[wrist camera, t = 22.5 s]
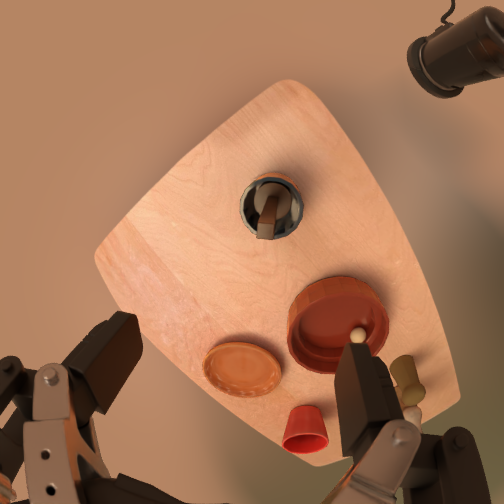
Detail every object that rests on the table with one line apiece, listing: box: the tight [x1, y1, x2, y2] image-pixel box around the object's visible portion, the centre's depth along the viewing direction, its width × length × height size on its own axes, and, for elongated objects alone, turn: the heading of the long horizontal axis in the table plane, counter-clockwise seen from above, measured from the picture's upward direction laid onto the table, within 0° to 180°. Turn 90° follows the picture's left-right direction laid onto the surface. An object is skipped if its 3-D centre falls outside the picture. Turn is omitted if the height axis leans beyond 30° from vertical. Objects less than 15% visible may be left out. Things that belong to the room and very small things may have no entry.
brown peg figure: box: [390, 355, 426, 406], centre depth 44 cm, size 6×6×11 cm
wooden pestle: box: [254, 181, 292, 240], centre depth 31 cm, size 5×5×19 cm
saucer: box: [202, 342, 282, 398], centre depth 51 cm, size 16×16×3 cm
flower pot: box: [282, 405, 329, 454], centre depth 53 cm, size 11×11×10 cm
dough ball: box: [350, 327, 366, 343], centre depth 45 cm, size 3×3×3 cm
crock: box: [240, 173, 304, 239], centre depth 37 cm, size 8×8×8 cm
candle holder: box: [395, 386, 423, 433], centre depth 43 cm, size 9×9×20 cm
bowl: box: [287, 276, 389, 374], centre depth 44 cm, size 17×17×6 cm
